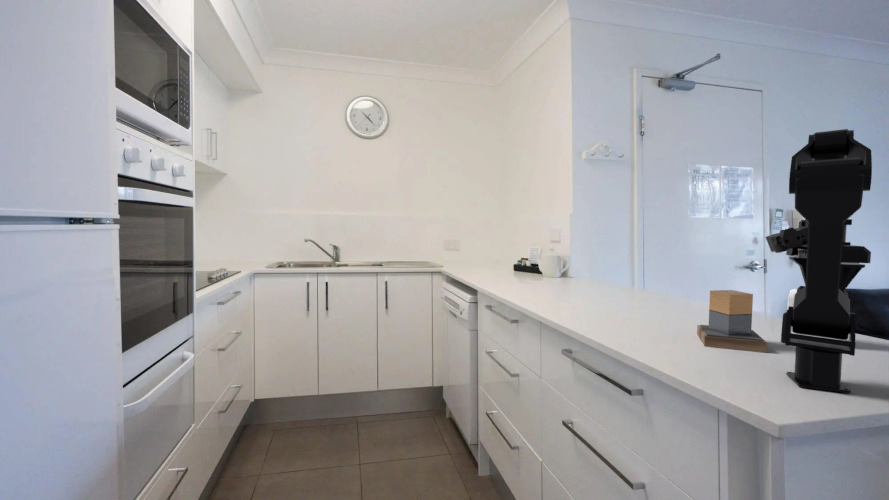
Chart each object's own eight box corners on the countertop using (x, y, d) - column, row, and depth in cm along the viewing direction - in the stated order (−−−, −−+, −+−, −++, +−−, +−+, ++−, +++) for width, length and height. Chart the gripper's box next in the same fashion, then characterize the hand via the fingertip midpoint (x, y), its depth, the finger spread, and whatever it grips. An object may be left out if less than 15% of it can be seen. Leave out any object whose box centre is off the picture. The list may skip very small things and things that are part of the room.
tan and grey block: (751, 334, 90) (753, 294, 89) (728, 335, 89) (729, 294, 89) (730, 328, 96) (731, 290, 95) (708, 329, 95) (710, 290, 94)
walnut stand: (766, 352, 85) (766, 340, 85) (704, 346, 90) (705, 334, 90) (752, 339, 95) (752, 328, 95) (697, 334, 100) (697, 323, 100)
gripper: (758, 215, 88) (754, 287, 89) (788, 213, 71) (784, 302, 72) (825, 215, 83) (821, 291, 84) (875, 212, 66) (869, 307, 67)
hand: (820, 297), depth 77 cm, fingers open, 9 cm apart
